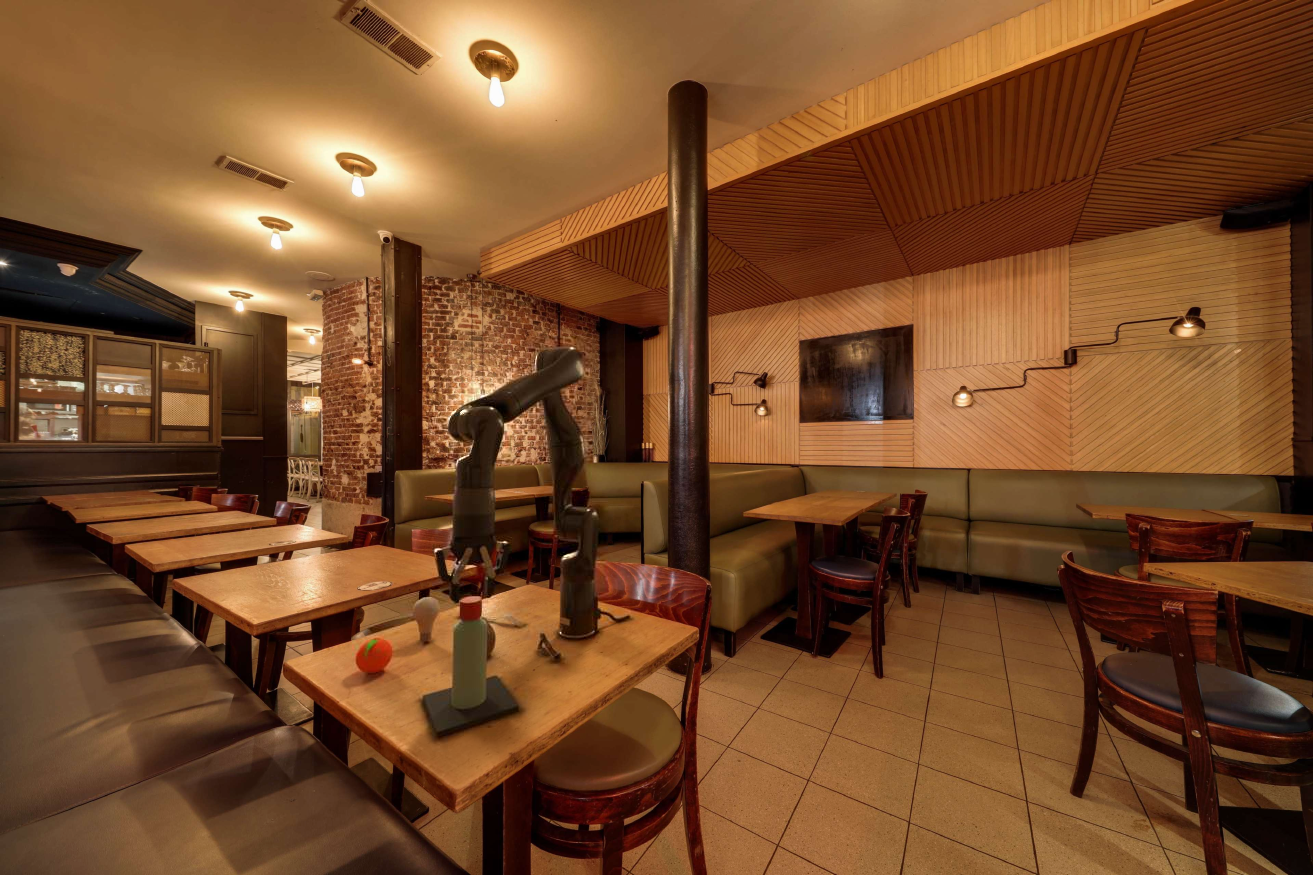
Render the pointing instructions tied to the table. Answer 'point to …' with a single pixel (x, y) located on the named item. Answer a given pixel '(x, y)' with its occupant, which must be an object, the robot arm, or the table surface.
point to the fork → (508, 617)
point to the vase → (490, 638)
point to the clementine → (374, 655)
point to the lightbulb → (426, 616)
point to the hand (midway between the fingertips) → (472, 599)
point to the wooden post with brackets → (554, 654)
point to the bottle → (469, 663)
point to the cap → (470, 608)
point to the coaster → (457, 719)
